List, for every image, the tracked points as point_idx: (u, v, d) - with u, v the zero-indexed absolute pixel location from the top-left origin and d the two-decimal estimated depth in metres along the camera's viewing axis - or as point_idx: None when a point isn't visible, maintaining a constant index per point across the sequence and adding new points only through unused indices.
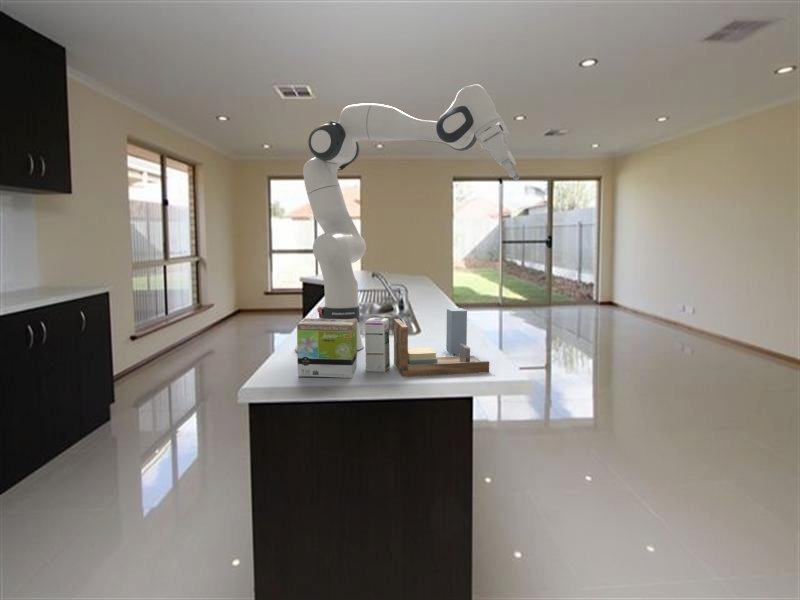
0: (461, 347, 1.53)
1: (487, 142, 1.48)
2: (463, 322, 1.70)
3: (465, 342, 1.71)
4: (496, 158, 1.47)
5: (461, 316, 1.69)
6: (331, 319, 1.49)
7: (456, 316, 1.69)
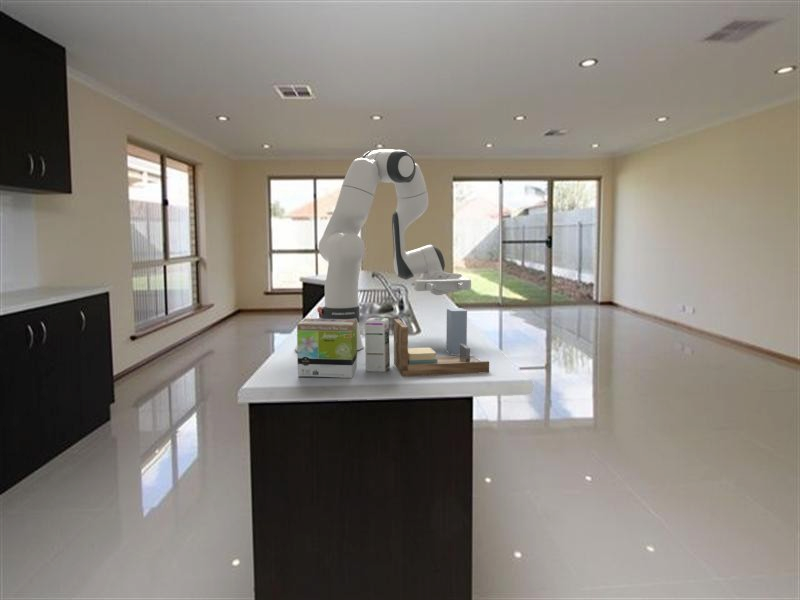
0: (461, 347, 1.53)
1: None
2: (463, 322, 1.70)
3: (465, 342, 1.71)
4: (470, 280, 1.90)
5: (461, 316, 1.69)
6: (331, 319, 1.49)
7: (456, 316, 1.69)
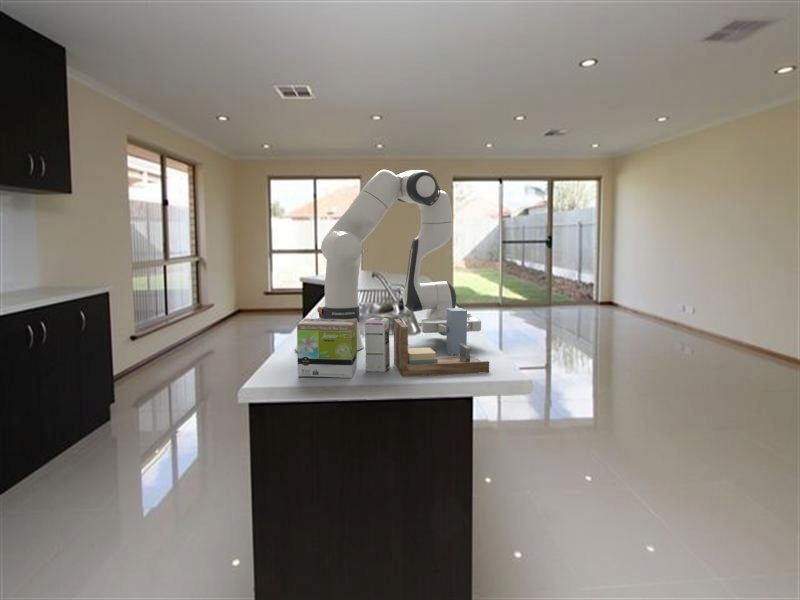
0: (461, 347, 1.53)
1: None
2: (463, 322, 1.70)
3: (465, 342, 1.71)
4: (480, 321, 1.79)
5: (461, 316, 1.69)
6: (331, 319, 1.49)
7: (456, 316, 1.69)
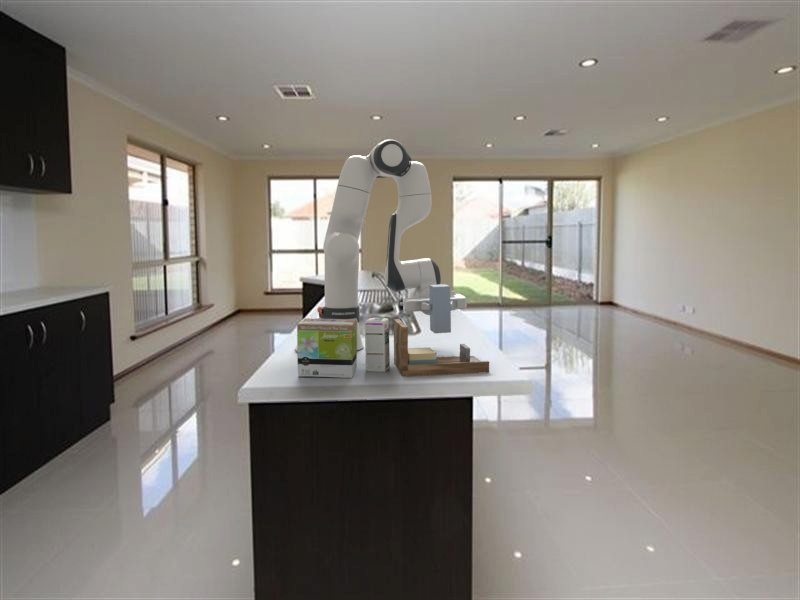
0: (461, 347, 1.53)
1: None
2: (447, 298, 1.59)
3: (449, 320, 1.60)
4: (466, 298, 1.69)
5: (444, 292, 1.59)
6: (331, 319, 1.49)
7: (438, 292, 1.59)
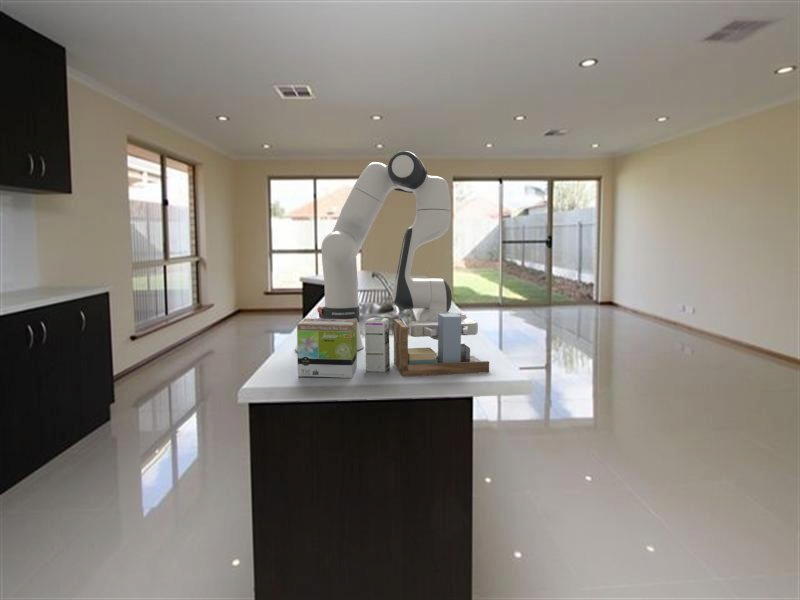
0: (461, 347, 1.53)
1: None
2: (457, 329, 1.48)
3: (459, 352, 1.49)
4: (477, 323, 1.58)
5: (455, 323, 1.48)
6: (331, 319, 1.49)
7: (448, 323, 1.47)
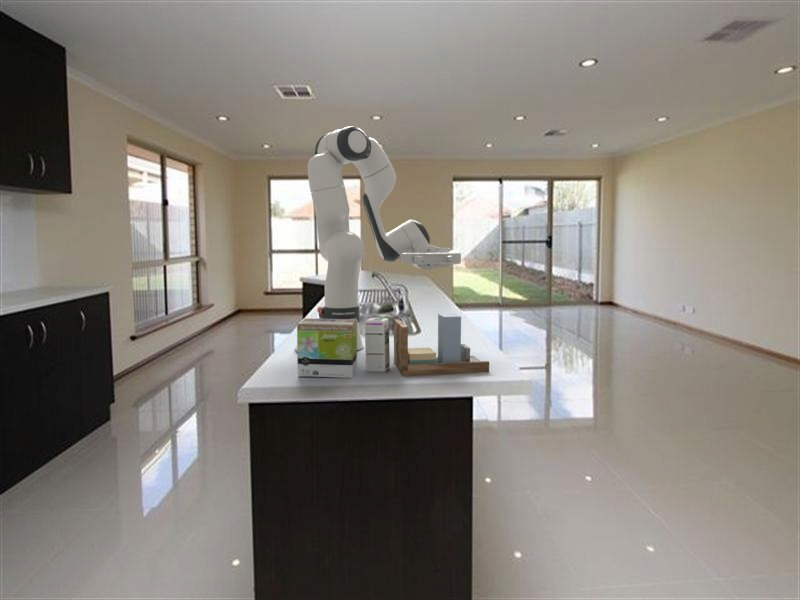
0: (461, 347, 1.53)
1: None
2: (457, 329, 1.48)
3: (459, 352, 1.49)
4: (460, 253, 1.80)
5: (455, 323, 1.48)
6: (331, 319, 1.49)
7: (448, 323, 1.47)
